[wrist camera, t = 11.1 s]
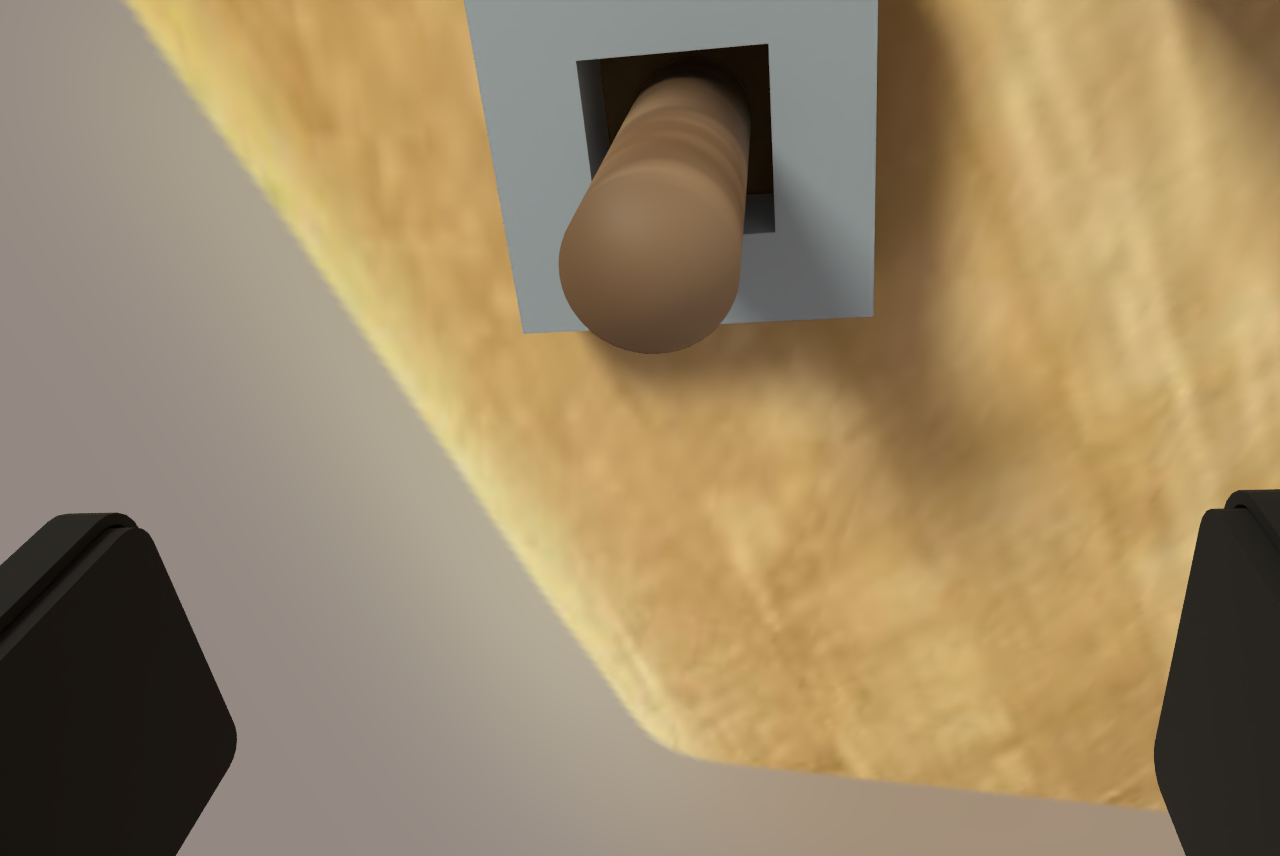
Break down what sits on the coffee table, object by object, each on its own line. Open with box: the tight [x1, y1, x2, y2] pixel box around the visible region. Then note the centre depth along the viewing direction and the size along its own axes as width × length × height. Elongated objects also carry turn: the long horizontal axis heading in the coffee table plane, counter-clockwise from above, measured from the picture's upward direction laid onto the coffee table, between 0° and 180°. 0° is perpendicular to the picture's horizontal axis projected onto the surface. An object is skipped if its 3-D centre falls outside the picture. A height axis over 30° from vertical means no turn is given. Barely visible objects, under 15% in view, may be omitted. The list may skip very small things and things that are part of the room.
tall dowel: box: [558, 57, 751, 354], centre depth 23 cm, size 3×3×12 cm
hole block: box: [464, 0, 878, 334], centre depth 27 cm, size 10×10×4 cm
